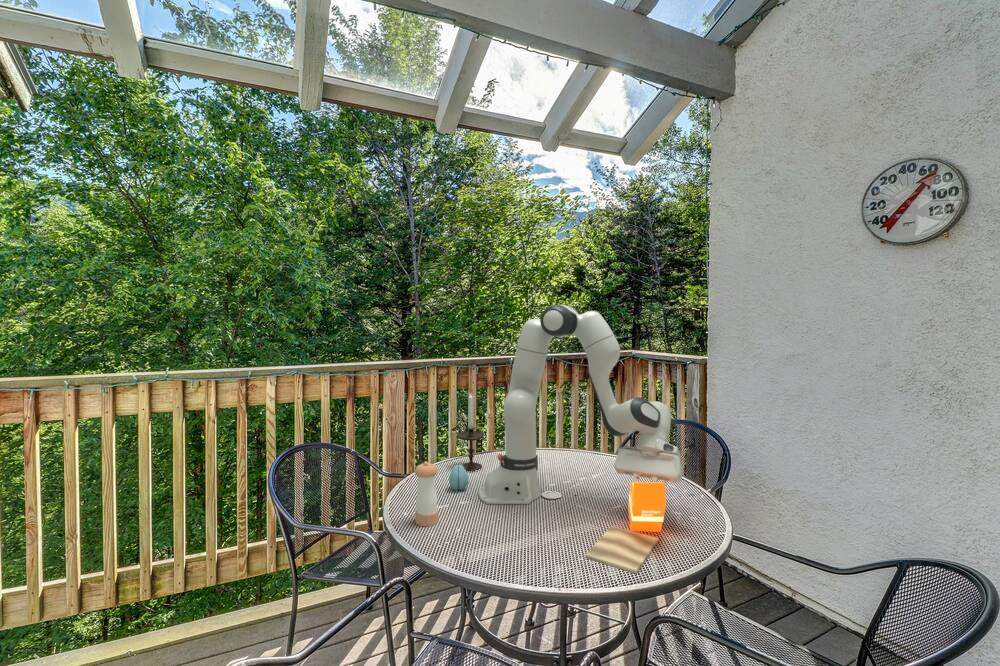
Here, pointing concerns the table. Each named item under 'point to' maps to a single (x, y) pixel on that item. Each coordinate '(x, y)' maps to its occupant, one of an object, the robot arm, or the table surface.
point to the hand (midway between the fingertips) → (643, 489)
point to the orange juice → (646, 506)
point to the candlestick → (471, 437)
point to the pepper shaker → (426, 495)
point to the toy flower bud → (458, 478)
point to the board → (622, 549)
